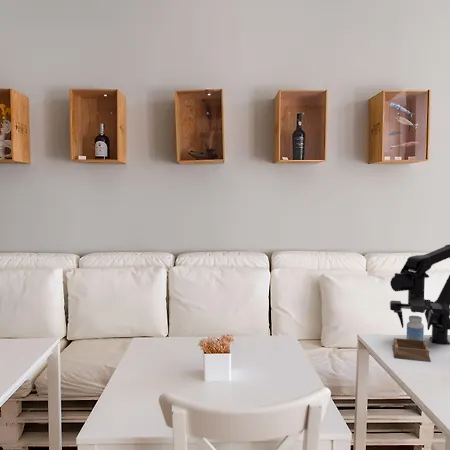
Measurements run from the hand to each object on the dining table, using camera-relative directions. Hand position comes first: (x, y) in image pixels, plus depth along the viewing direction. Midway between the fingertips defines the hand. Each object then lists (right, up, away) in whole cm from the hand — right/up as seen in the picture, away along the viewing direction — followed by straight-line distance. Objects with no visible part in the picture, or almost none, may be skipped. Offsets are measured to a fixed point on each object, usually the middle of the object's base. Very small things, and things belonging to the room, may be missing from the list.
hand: (415, 328), depth 171 cm
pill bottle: (0, -7, 0) cm, 7 cm away
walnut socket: (-6, -7, -9) cm, 13 cm away
